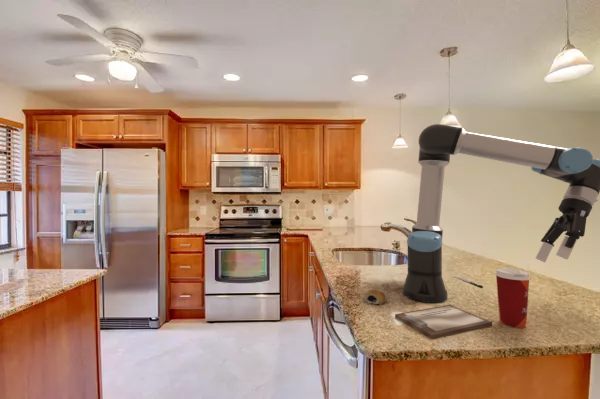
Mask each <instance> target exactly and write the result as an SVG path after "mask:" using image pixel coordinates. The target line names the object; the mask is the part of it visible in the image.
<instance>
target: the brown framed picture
mask: <svg viewBox="0 0 600 399" xmlns="http://www.w3.org/2000/svg"><path fill="white" fill-rule="evenodd" d="M394 317H395V318H396V319H397V320H398V321H401V322H402V323H404V324H405V325H408V326H409V327H411V328H412V329H414V330H415V331H417V332H419V333H420V334H422V335H424V336H426V337H428V338H429V339H430V340H433V339H437V338H442V337H446V336H452V335H455V334H461V333H464V332H471V331H473V330H478V329H483V328H488V327H492V326H493V322H492V321H491V320H488V319H486V318H483V317H480V316H478V315H476V314H474V313H470V312H469V311H466V310H464V309H461V308H459V307H457V306H454V305H452V304H447V305H440V306H434V307H429V308H424V309H417V310H412V311H411V310H410V311H405V312H401V313H395V314H394Z"/></svg>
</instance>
